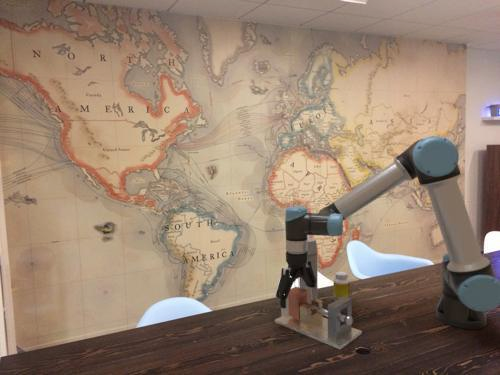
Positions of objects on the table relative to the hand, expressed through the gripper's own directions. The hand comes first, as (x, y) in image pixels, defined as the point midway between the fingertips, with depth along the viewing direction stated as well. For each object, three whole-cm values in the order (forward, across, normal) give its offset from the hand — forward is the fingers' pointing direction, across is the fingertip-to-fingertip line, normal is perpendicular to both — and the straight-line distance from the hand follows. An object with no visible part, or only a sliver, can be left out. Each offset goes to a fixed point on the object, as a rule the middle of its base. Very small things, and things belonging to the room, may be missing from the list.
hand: (297, 310), depth 124 cm
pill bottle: (+4, -26, +2) cm, 26 cm away
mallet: (+2, 0, +9) cm, 10 cm away
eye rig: (+4, 0, +8) cm, 9 cm away
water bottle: (+4, -16, -8) cm, 18 cm away
